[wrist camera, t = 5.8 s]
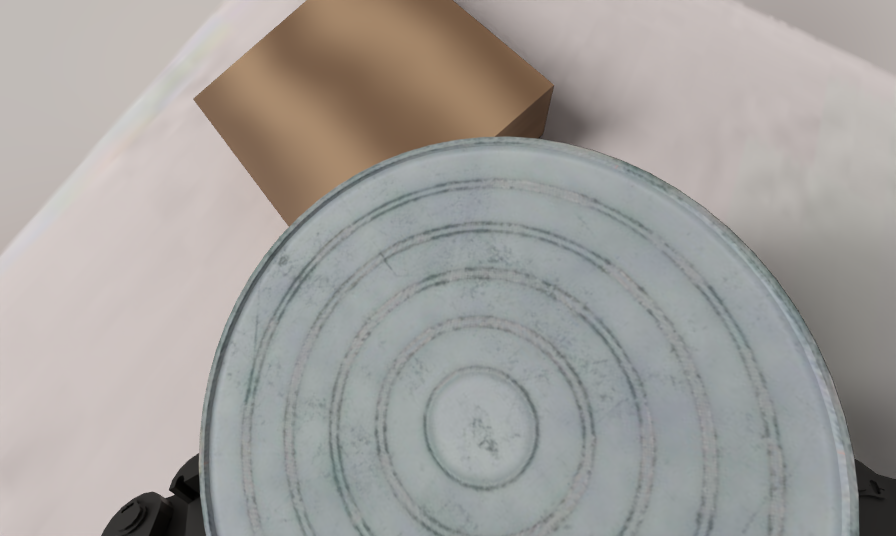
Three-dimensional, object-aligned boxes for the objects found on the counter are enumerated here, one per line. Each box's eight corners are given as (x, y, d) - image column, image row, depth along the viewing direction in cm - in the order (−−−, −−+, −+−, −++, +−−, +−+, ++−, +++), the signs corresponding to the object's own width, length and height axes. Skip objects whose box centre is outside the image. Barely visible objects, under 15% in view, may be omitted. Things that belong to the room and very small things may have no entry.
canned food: (637, 306, 17) (949, 255, 5) (556, 523, 16) (723, 1091, 4) (440, 228, 19) (349, 75, 8) (357, 412, 18) (98, 566, 6)
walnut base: (399, 5, 23) (378, -62, 19) (543, 134, 19) (554, 84, 15) (246, 138, 23) (193, 98, 19) (363, 290, 19) (329, 280, 15)
